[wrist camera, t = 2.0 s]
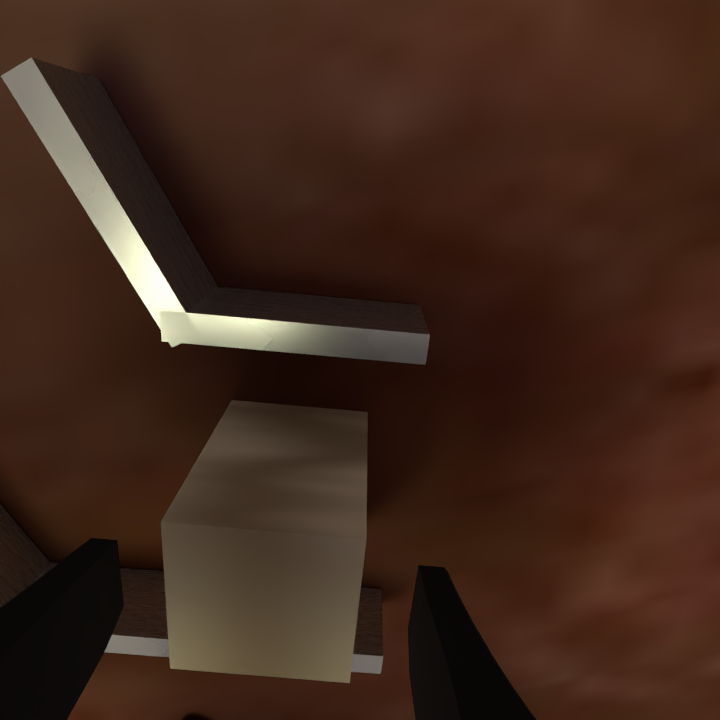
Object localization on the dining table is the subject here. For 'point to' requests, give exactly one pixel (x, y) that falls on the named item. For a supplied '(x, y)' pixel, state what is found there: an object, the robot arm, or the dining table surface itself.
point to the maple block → (269, 545)
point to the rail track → (183, 315)
